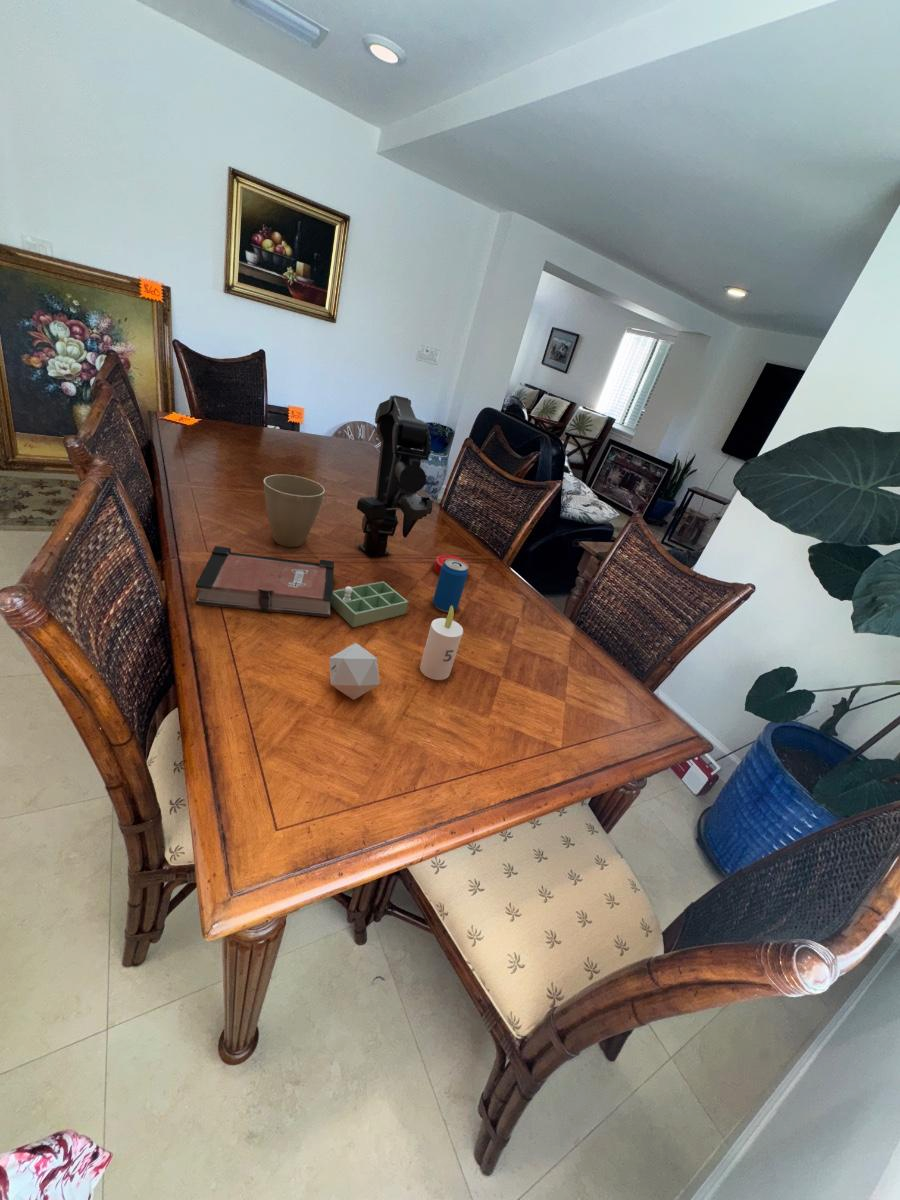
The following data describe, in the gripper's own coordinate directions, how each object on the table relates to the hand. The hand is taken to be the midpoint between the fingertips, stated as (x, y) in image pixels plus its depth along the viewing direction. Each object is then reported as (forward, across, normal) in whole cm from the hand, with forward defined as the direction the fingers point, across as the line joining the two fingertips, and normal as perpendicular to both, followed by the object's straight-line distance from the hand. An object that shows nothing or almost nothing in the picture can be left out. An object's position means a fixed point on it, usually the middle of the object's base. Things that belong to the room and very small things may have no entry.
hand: (389, 538), depth 118 cm
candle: (+12, -11, -34) cm, 38 cm away
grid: (+12, -11, -10) cm, 19 cm away
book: (+12, -28, +4) cm, 31 cm away
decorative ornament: (+12, +23, -2) cm, 26 cm away
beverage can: (+12, +8, -16) cm, 22 cm away
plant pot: (+12, -12, +26) cm, 31 cm away
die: (+12, -29, -31) cm, 44 cm away
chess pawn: (+12, -16, -8) cm, 21 cm away
